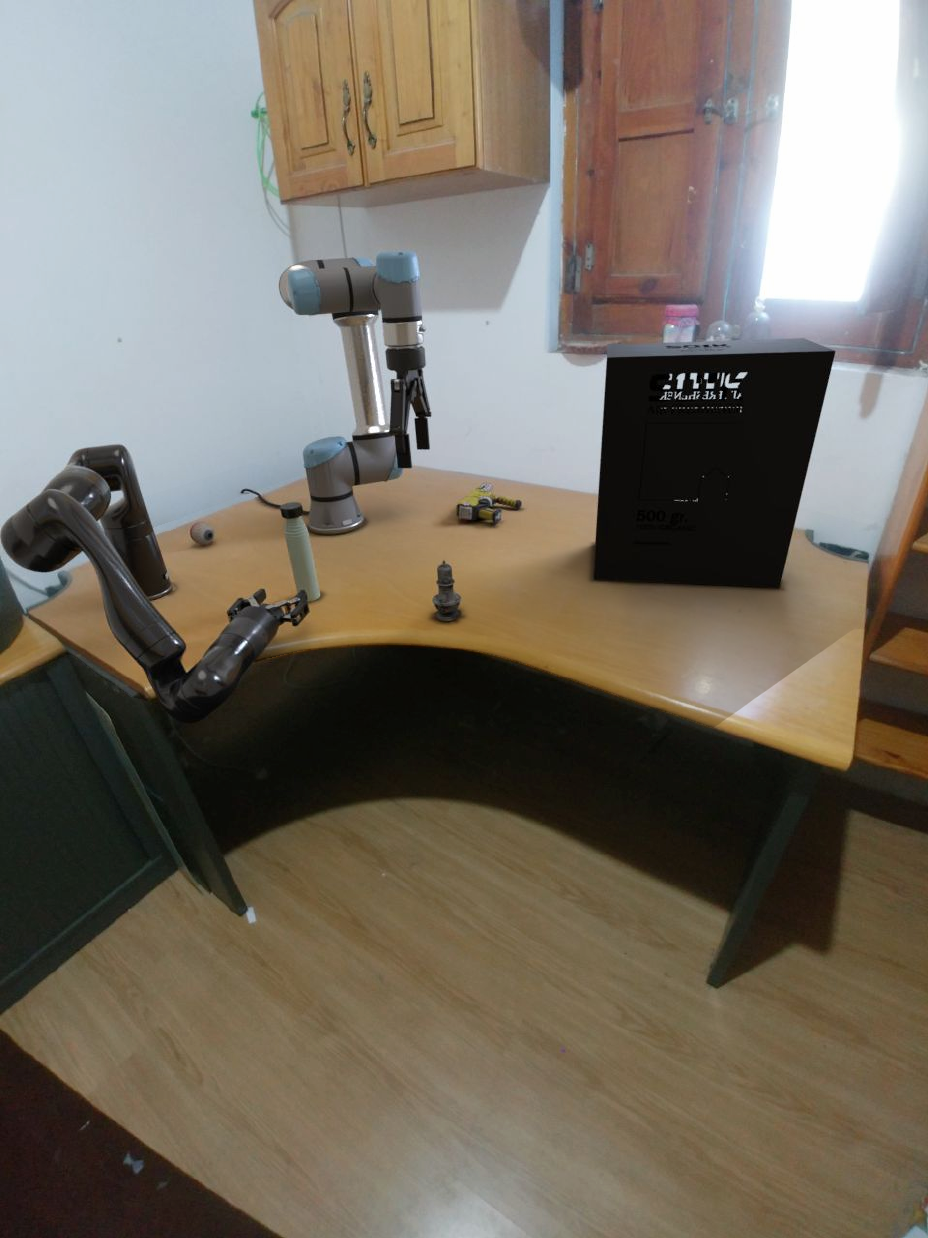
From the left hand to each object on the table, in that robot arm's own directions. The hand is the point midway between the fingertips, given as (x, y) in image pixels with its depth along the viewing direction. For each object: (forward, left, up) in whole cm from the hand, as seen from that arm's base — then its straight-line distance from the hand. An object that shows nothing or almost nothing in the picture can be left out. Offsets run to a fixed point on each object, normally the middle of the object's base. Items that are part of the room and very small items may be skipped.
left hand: (283, 593), depth 120 cm
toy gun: (+35, +65, -6) cm, 74 cm away
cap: (0, +11, +14) cm, 18 cm away
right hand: (+24, +22, +21) cm, 38 cm away
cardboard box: (+81, +30, -6) cm, 87 cm away
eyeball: (-40, +38, -6) cm, 56 cm away
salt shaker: (+32, +4, -6) cm, 33 cm away
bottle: (0, +11, -6) cm, 12 cm away
